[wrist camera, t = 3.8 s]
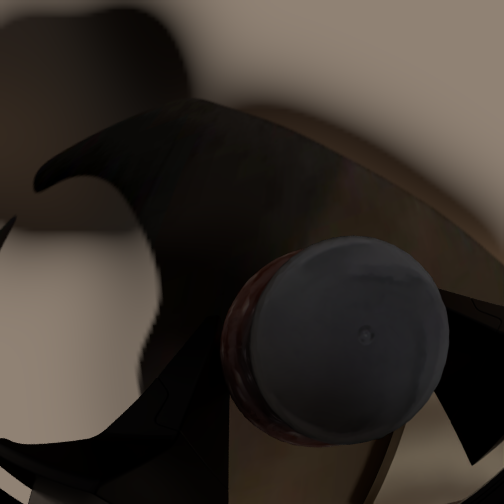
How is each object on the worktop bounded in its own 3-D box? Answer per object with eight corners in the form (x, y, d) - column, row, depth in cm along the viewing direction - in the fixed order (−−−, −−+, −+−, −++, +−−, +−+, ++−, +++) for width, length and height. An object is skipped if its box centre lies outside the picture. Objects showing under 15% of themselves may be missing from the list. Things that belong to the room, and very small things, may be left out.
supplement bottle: (234, 315, 16) (173, 213, 5) (332, 294, 16) (426, 174, 5) (254, 414, 13) (226, 516, 3) (355, 389, 14) (499, 409, 3)
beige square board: (486, 485, 8) (494, 488, 7) (361, 506, 10) (367, 514, 9) (523, 343, 13) (532, 340, 12) (418, 322, 15) (427, 319, 14)
